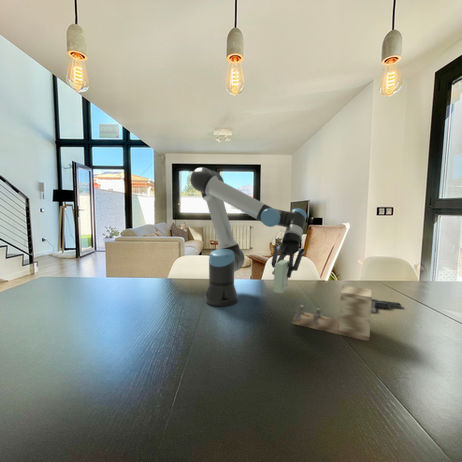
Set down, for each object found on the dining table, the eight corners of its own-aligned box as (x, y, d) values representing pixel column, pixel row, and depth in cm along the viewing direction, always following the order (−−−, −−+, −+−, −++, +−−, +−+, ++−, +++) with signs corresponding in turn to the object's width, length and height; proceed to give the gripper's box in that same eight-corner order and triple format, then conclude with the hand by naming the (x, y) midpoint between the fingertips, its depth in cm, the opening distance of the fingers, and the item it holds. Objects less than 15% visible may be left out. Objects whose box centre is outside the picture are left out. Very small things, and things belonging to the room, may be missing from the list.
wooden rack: (292, 323, 89) (293, 285, 88) (297, 314, 97) (298, 279, 96) (369, 341, 77) (371, 297, 76) (368, 329, 85) (370, 289, 84)
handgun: (411, 313, 96) (398, 301, 108) (363, 307, 101) (356, 295, 112) (410, 320, 97) (398, 307, 108) (362, 313, 101) (355, 301, 113)
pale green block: (270, 291, 92) (271, 263, 92) (277, 285, 100) (279, 259, 99) (281, 293, 90) (282, 264, 90) (287, 287, 98) (289, 260, 97)
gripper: (312, 244, 105) (301, 291, 91) (276, 241, 112) (262, 284, 99) (310, 232, 99) (299, 281, 86) (273, 230, 107) (257, 274, 94)
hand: (279, 282), depth 93 cm, fingers closed on pale green block, 3 cm apart
